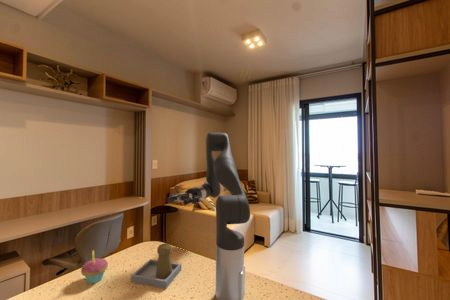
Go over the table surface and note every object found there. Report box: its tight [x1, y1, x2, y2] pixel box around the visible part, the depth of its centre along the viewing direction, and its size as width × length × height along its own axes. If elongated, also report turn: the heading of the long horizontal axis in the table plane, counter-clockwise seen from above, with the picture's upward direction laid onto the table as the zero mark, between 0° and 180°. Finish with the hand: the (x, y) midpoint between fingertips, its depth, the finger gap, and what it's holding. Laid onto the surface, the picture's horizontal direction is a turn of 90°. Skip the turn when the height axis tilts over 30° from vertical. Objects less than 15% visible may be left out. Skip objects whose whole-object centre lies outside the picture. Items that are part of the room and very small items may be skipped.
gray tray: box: [130, 258, 182, 290], centre depth 81 cm, size 14×12×2 cm
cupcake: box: [80, 250, 109, 284], centre depth 79 cm, size 9×8×12 cm
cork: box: [156, 243, 172, 279], centre depth 81 cm, size 6×6×11 cm
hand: (175, 201), depth 92 cm, fingers open, 8 cm apart
